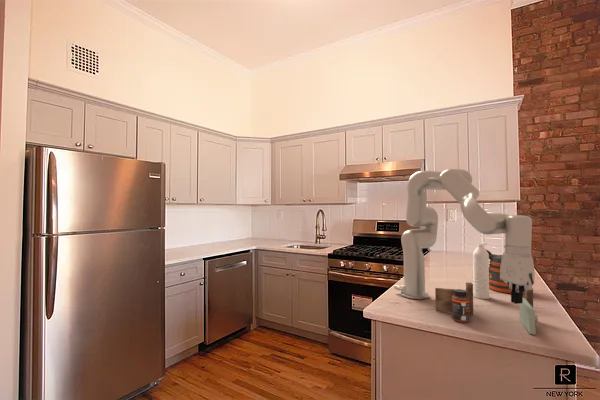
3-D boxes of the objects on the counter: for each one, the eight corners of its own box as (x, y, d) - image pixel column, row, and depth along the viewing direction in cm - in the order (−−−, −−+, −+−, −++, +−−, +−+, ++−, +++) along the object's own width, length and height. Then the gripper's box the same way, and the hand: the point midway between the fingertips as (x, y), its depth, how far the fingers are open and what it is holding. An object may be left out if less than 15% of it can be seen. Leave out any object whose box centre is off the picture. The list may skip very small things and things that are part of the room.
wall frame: (436, 311, 127) (435, 282, 127) (435, 309, 130) (435, 280, 130) (534, 321, 116) (533, 288, 116) (531, 318, 119) (530, 286, 119)
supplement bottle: (469, 324, 113) (468, 293, 114) (451, 321, 117) (450, 291, 117) (470, 319, 118) (469, 289, 119) (452, 316, 122) (452, 287, 122)
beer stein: (477, 289, 158) (476, 250, 158) (479, 283, 170) (478, 246, 171) (523, 295, 148) (522, 253, 148) (521, 288, 160) (521, 249, 160)
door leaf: (539, 335, 103) (539, 310, 103) (529, 333, 104) (529, 309, 104) (528, 319, 117) (528, 298, 117) (519, 318, 118) (519, 297, 118)
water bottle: (486, 300, 141) (485, 244, 142) (471, 296, 146) (470, 243, 147) (493, 296, 147) (492, 243, 147) (478, 293, 152) (477, 241, 152)
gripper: (491, 247, 116) (490, 296, 116) (528, 255, 101) (526, 311, 101) (509, 246, 117) (508, 295, 118) (547, 254, 102) (546, 310, 103)
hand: (516, 302), depth 109 cm, fingers closed
